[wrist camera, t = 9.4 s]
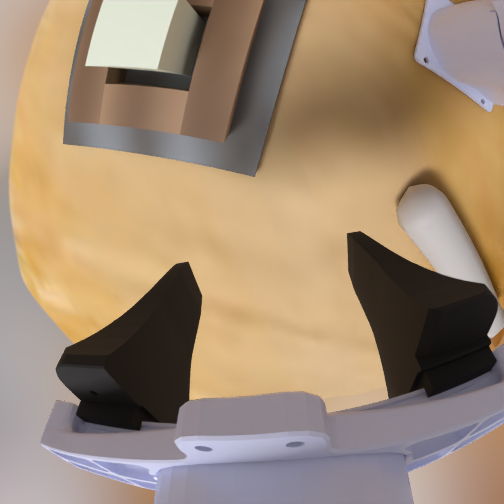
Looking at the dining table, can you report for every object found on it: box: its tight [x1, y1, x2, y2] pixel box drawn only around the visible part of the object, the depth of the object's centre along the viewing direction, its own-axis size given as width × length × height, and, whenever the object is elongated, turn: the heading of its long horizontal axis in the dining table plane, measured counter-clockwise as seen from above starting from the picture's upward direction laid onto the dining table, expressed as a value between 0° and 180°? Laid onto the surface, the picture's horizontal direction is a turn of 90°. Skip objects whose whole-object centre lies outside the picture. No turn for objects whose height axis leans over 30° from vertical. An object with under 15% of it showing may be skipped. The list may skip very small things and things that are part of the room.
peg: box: [85, 0, 206, 76], centre depth 12 cm, size 4×4×7 cm
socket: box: [63, 0, 306, 177], centre depth 14 cm, size 16×16×4 cm
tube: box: [396, 184, 504, 338], centre depth 23 cm, size 5×5×25 cm
